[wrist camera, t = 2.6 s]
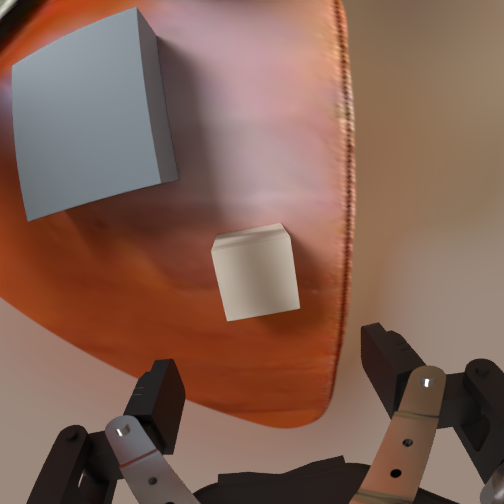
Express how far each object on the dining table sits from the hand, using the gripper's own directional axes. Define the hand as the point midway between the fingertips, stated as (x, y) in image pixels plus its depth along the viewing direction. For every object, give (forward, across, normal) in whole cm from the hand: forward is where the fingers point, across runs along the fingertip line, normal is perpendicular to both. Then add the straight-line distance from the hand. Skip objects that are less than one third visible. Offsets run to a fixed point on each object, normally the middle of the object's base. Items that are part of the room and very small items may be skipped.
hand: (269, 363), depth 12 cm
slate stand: (+15, +11, -15) cm, 24 cm away
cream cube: (+16, 0, 0) cm, 16 cm away
